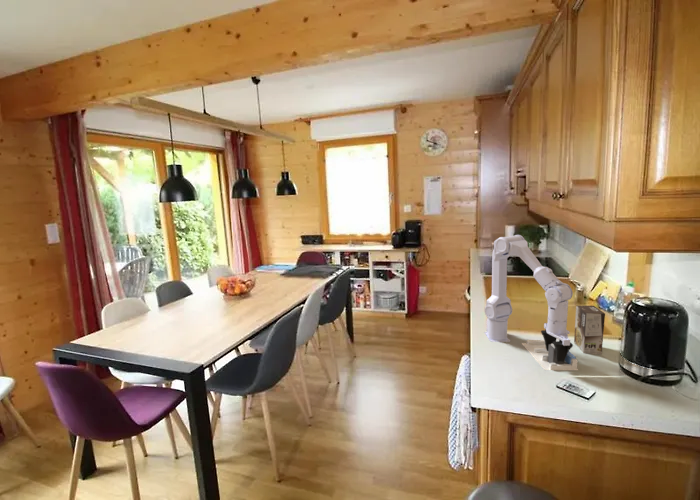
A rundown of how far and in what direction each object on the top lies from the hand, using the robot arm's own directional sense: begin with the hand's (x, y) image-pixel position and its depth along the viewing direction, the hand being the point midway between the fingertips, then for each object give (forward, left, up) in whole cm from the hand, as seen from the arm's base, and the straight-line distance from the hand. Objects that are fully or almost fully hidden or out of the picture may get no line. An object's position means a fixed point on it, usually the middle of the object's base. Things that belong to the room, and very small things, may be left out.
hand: (555, 355), depth 125 cm
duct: (-6, 0, -4) cm, 7 cm away
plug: (0, 0, -3) cm, 3 cm away
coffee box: (-12, +18, -4) cm, 22 cm away
